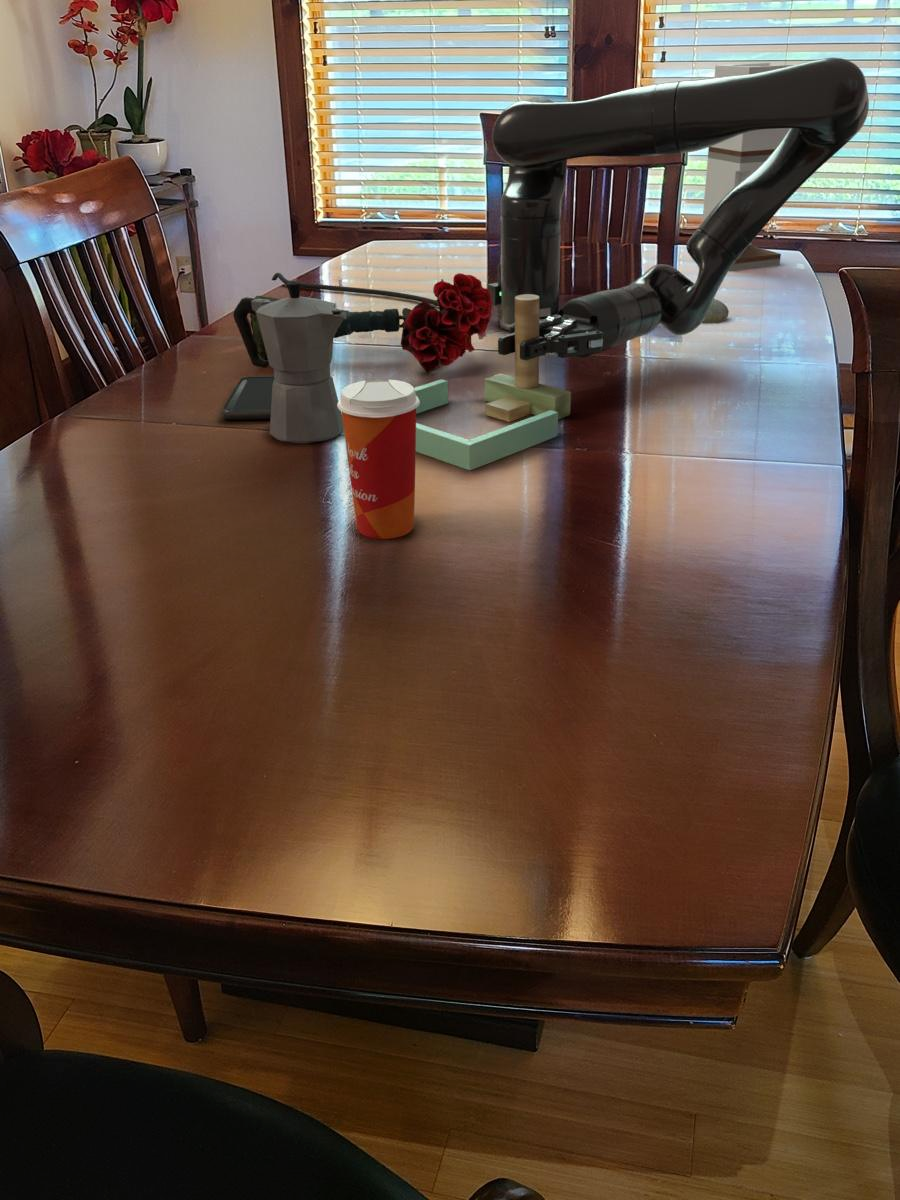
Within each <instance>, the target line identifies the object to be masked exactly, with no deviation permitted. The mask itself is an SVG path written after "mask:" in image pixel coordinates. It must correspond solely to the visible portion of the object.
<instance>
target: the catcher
mask: <svg viewBox="0 0 900 1200" xmlns="http://www.w3.org/2000/svg"><path fill="white" fill-rule="evenodd" d="M448 381H449V380H445V379H442V378H441V379H438V380H435V381H431V382H429V383H424V384H421V385H419V386H415V387H413V388H414V390H415V394H416V396H417V397H418V399H419V401H420V404H419V406H418V407H417V408H416V415H417V414H420V413H423V412H426V411H428V410H433V409H435V408H438V407H441V406H445V405H447V404H449V383H448ZM558 431H559V419H558V412H556V411H552V410H549V411H547V412H544V413H541V414H539V415H533V416H531V417H527V418H526V419H523V420H520V421H517V422H515V423H511V424H509V425H506V426H503V427H501V428H498V429H495V430H493V431H490V432H487V433H484V434H482V435H479V436H477V437H474V438H471V439H468V438H464V437H462V436H458V435H455V434H451V433H448V432H445V431H443V430H440V429H436V428H433V427H431V426H427V425H424V424H421V423H419V422H416V453H419V454H420V455H421V454H422V455H424V456H428V457H430V458H433V459H435V460H437V461H438V460H439V461H441V462H444V463H447V464H450V465H452V466H455V467H458V468H461V469H464V470H467V471H472V470H476V469H478V468H480V467H483V466H486V465H488V464H490V463H494V462H495V461H499V460H500V459H504V458H505V457H508V456H510V455H513V454H516V453H519V452H521V451H524V450H526V449H528V448H531V447H534V446H536V445H539V444H542V443H544V442H546V441H548V440H551V439H554V438H556V437H558V435H559V434H558V433H559V432H558Z"/></svg>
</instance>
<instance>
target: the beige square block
mask: <svg viewBox="0 0 900 1200" xmlns="http://www.w3.org/2000/svg"><path fill="white" fill-rule="evenodd" d="M530 415H531V414H530V403H529V402H525V401H521V400H518V399H514V398H511V397H505V398H502V399H499V400H496V401H493V402H488V403H485V416H488V417H490V418H494V419H498V420H501V421H504V422H507V423H510V422H513V421H515V420H518V419H522V418H524V417H527V416H530Z"/></svg>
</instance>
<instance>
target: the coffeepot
mask: <svg viewBox="0 0 900 1200" xmlns="http://www.w3.org/2000/svg"><path fill="white" fill-rule="evenodd" d="M290 281H291V282H288V283H287V285H286V287H287V290H288V294H289V297H286V298H282V299H280V300H277V301H274V302H271V301H270V300H267V299H254V298H255V297H248V296H247V297H243V298H241V299H240V301H239V302H238V303H237V305H236V307H235V308H234V310H233V314H232V315H233V320H234V322H235V324H236V326H237V329H238V332H239V334H240V336H241V339H242V342H243V344H244V347H245V349H246V351H247V354H248V356H249V359H250V361H251V364H252V365H253V366H255V367H258V368H264V369H265V368H268V367H271V368H272V369H273V376H274V378H275V379H274V382H273V386H272V402H271V419H269V420H270V421H269V435H270V436H272V437H273V438H274V439H275V440H277V441H280V442H283V443H288V444H289V443H290V444H313V443H320V442H325V441H329V440H331V439H333V438H336V437H337V436H339V435H341V434H342V432H343V429H344V427H343V420H342V412H341V411H340V410H339V409H338V407H337V404H338V402H339V397H338V393H337V390H336V386H335V382H334V378H333V376H332V375H331V363H332V361H333V353H334V339H335V338H334V336H335V334H336V332H337V330H338V328H339V326H340V324H341V323H342V321H343V320H345V319H347V315H346V313H345V312H342V310H343V309H339V308H337V306H336V302H332V301H327V300H323V299H320V298H314V297H308V296H307V297H306V296H300V295H301V288H302V287H301V283H302V282H300V281H297V280H290ZM250 314H253V315H256V316H257V318H258V322H259V326H260V330H261V334H262V338H263V342H264V346H265V350H266V353H267V357H266V358H267V359H265V358H261V357H260V356H259V354H258V347H257V343H256V341H255V339H254V337H253V330H252V327H251V321H250V320H249V317H248V315H250Z"/></svg>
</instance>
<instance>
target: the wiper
mask: <svg viewBox="0 0 900 1200" xmlns="http://www.w3.org/2000/svg"><path fill="white" fill-rule="evenodd" d="M539 300H540V297H539V296H537V295H532V294H524V295H518V296H516V297H515V352H514V376H511V375H508V374H504V373H497V374H494V375H491V376H489V377H485V378H484V401H485V402H488V403H490V402H493V401H496V400H499V399H502V398H505V397H511V398H514V399H518V400H521V401H525V402H529V403H530V415H533V416H536V415H539V414H541V413H544V412H547V411H549V410H552V411H556V412H558V420H561V419H563V418H565V417H568V416H570V415H571V403H572V402H571V400H572V399H571V398H572V392H571V391H569V390H566V389H561V388H557V387H553V386H550V385H546V384H542V383H540V356H539V357H536V358H533V359H530V360H527V361H525V360H521V359H520V344H521V342H523V341H526V340H529V339H533V338H536V337H539Z"/></svg>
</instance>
